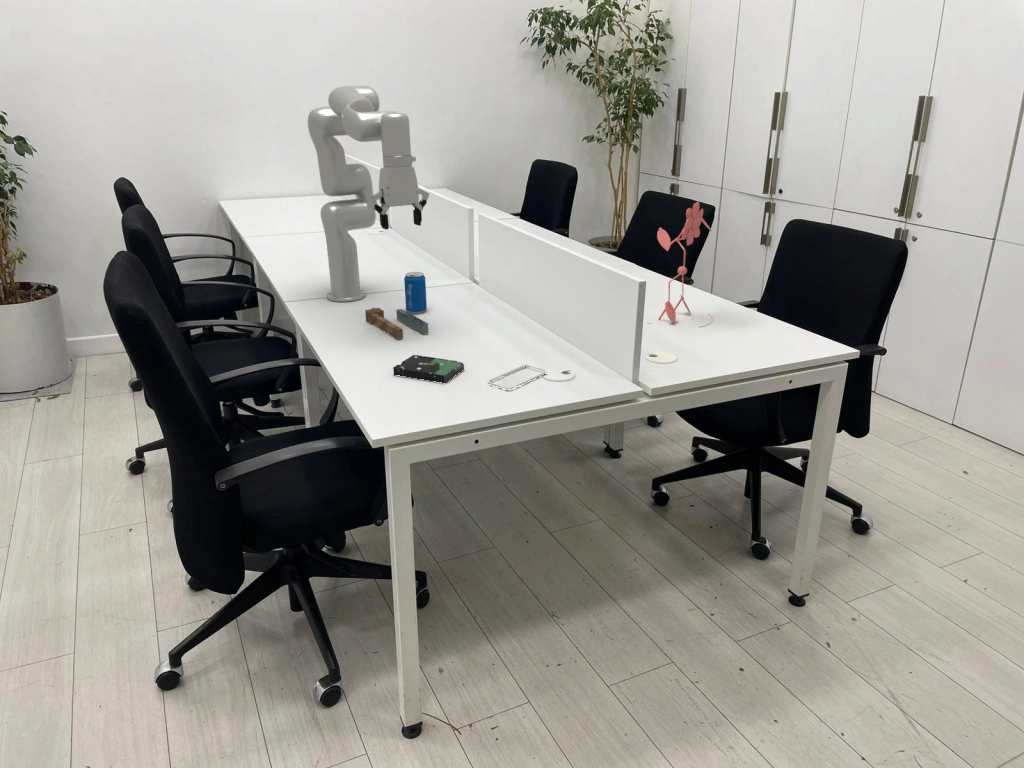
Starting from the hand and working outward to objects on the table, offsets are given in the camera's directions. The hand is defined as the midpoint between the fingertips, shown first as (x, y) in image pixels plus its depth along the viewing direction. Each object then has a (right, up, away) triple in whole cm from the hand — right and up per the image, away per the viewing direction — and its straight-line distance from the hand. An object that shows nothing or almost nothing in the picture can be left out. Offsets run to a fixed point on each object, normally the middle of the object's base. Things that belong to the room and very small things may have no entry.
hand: (401, 226), depth 212 cm
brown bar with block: (-6, -27, +14) cm, 31 cm away
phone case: (+32, -43, -22) cm, 58 cm away
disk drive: (+10, -41, -18) cm, 46 cm away
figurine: (+83, -24, +20) cm, 88 cm away
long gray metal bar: (+1, -26, +16) cm, 31 cm away
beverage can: (0, -21, +30) cm, 37 cm away
